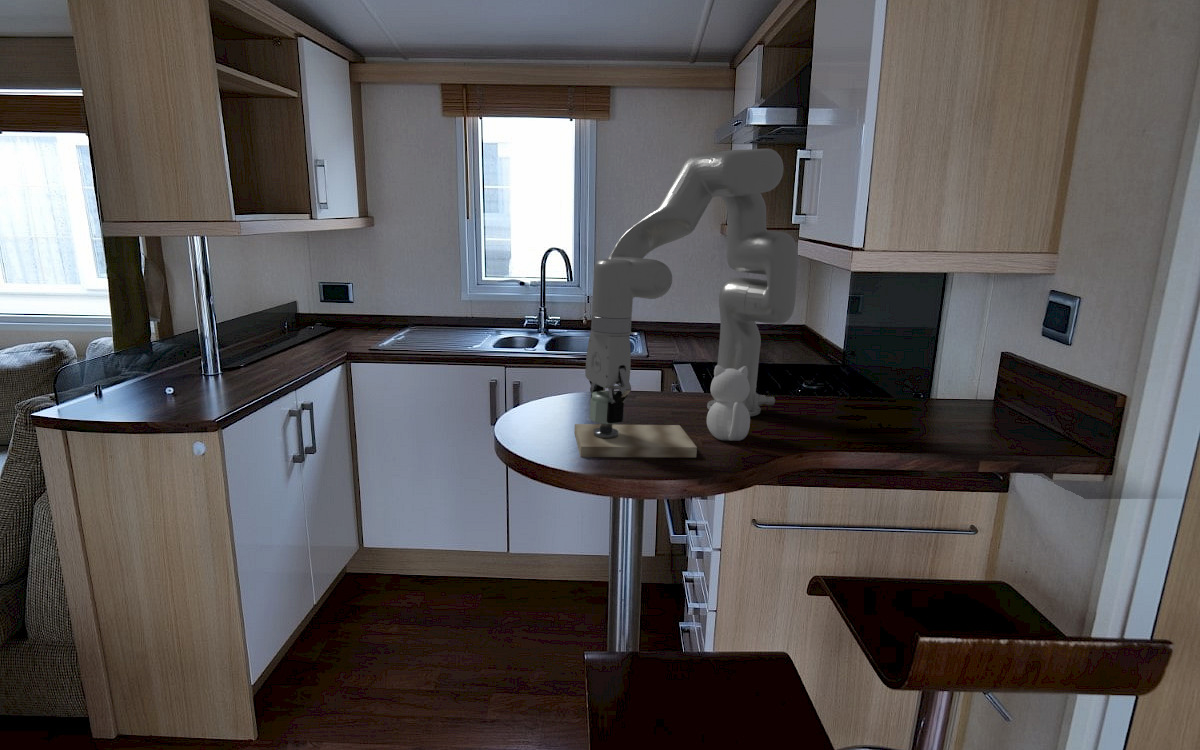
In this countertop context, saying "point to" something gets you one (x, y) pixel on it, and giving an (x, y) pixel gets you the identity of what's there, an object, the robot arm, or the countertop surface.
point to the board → (635, 441)
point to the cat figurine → (729, 404)
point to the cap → (599, 407)
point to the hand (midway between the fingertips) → (606, 416)
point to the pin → (605, 432)
